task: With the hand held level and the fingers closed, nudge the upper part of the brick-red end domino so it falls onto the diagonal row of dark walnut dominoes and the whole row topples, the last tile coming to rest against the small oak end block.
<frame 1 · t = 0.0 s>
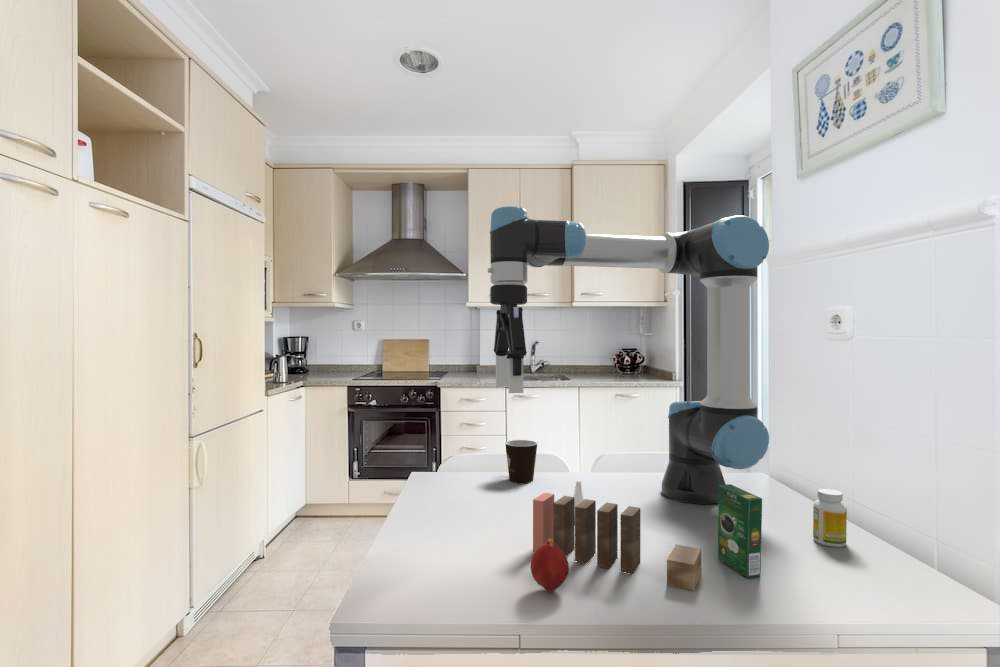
hand: (508, 389, 108), 28 cm above the table, tool pointing down, fingers open, 13 cm apart
coffee box: (739, 569, 89), on the table
supplement bottle: (829, 543, 101), on the table
domino 1: (543, 548, 97), on the table
onion: (549, 592, 81), on the table
garlic bulb: (578, 518, 114), on the table
domino 3: (585, 557, 93), on the table
coffee mug: (522, 479, 145), on the table
end block: (684, 579, 85), on the table
domino 5: (630, 567, 90), on the table
domino 2: (564, 553, 95), on the table
domino 4: (607, 562, 91), on the table
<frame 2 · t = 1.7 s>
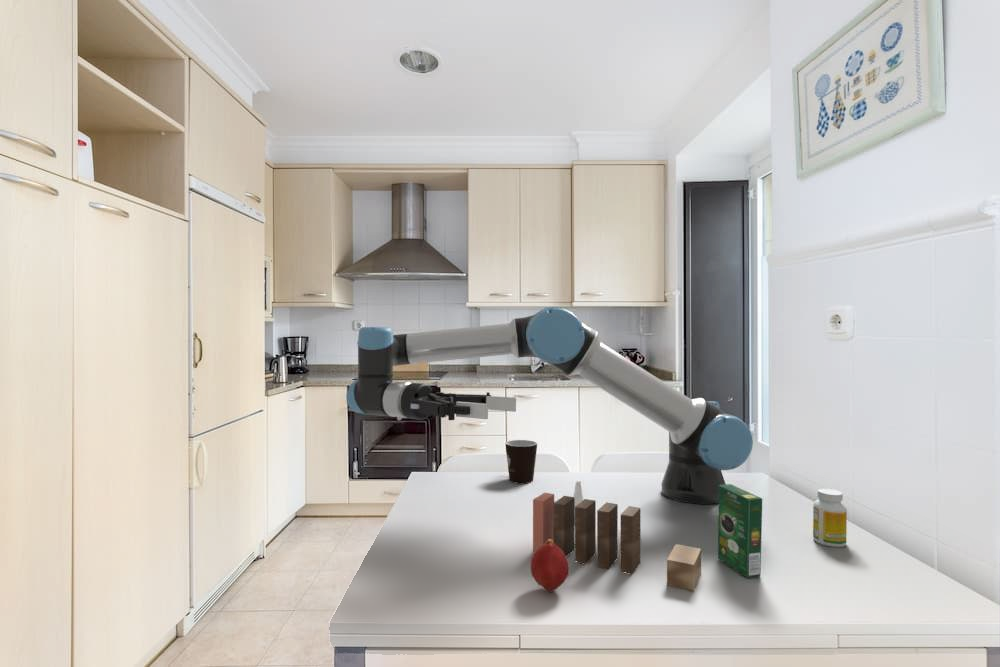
hand: (501, 408, 102), 25 cm above the table, tool horizontal, fingers open, 10 cm apart
nothing on the table moved.
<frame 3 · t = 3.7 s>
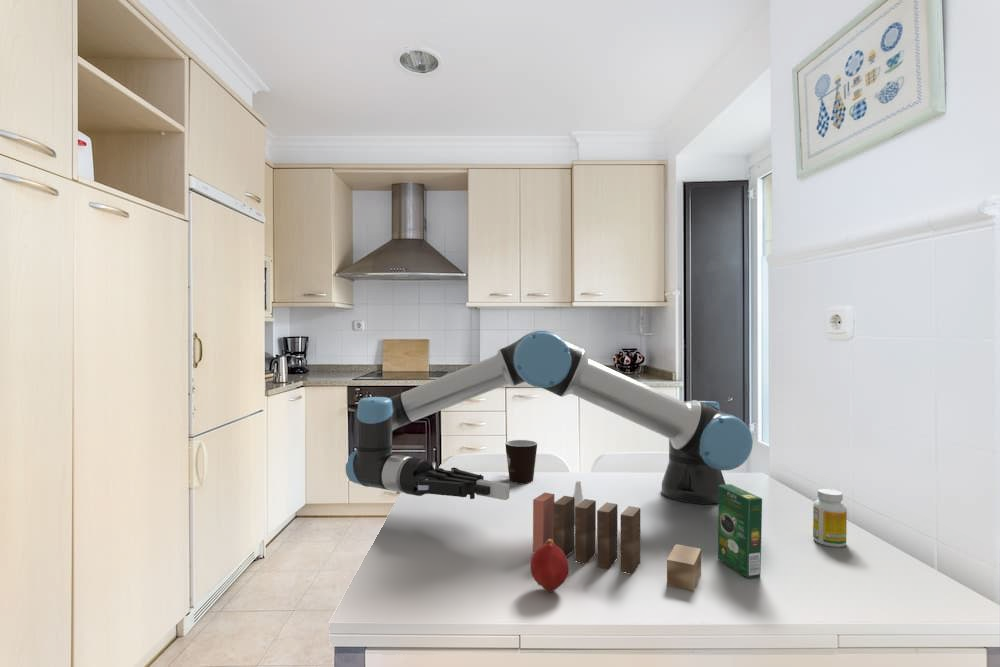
hand: (507, 491, 101), 9 cm above the table, tool horizontal, fingers closed
nothing on the table moved.
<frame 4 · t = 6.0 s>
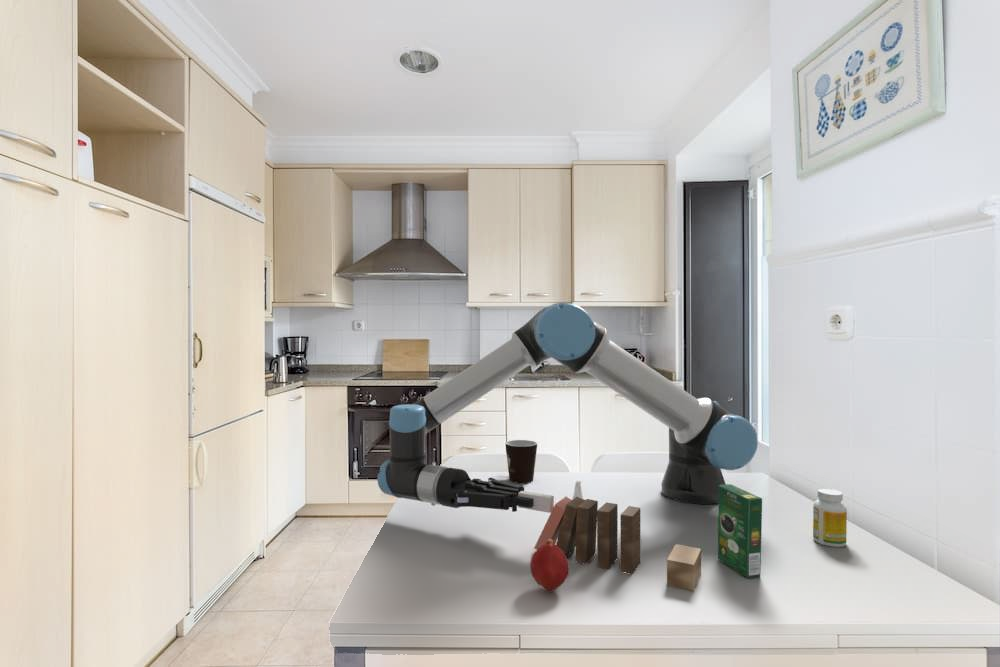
hand: (551, 504, 97), 8 cm above the table, tool horizontal, fingers closed
domino 1: (544, 546, 97), on the table, tilted 26°, touching domino 2
domino 3: (585, 557, 93), on the table, touching domino 2
domino 2: (564, 551, 95), on the table, tilted 15°, touching domino 1, domino 3
everything else where it was.
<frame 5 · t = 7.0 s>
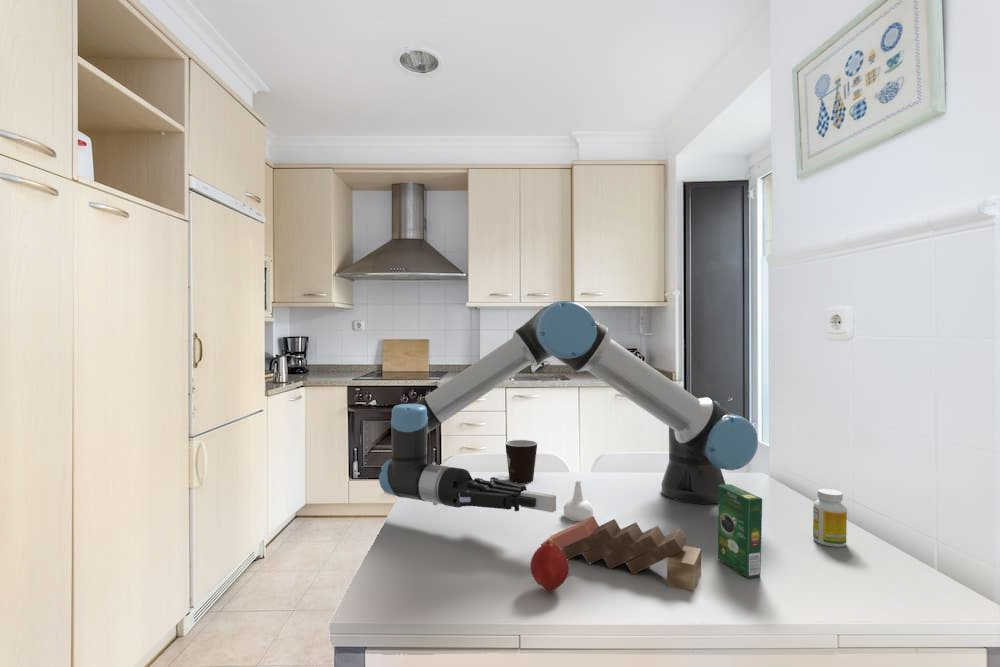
hand: (554, 503, 96), 8 cm above the table, tool horizontal, fingers closed
domino 1: (548, 545, 97), point 1 cm above the table, tilted 58°, touching domino 2
domino 3: (590, 553, 93), point 1 cm above the table, tilted 57°, touching domino 2, domino 4
domino 5: (633, 563, 89), point 1 cm above the table, tilted 55°, touching domino 4, end block
domino 2: (569, 549, 95), point 1 cm above the table, tilted 57°, touching domino 1, domino 3
domino 4: (610, 558, 91), point 1 cm above the table, tilted 56°, touching domino 3, domino 5
everything else where it was.
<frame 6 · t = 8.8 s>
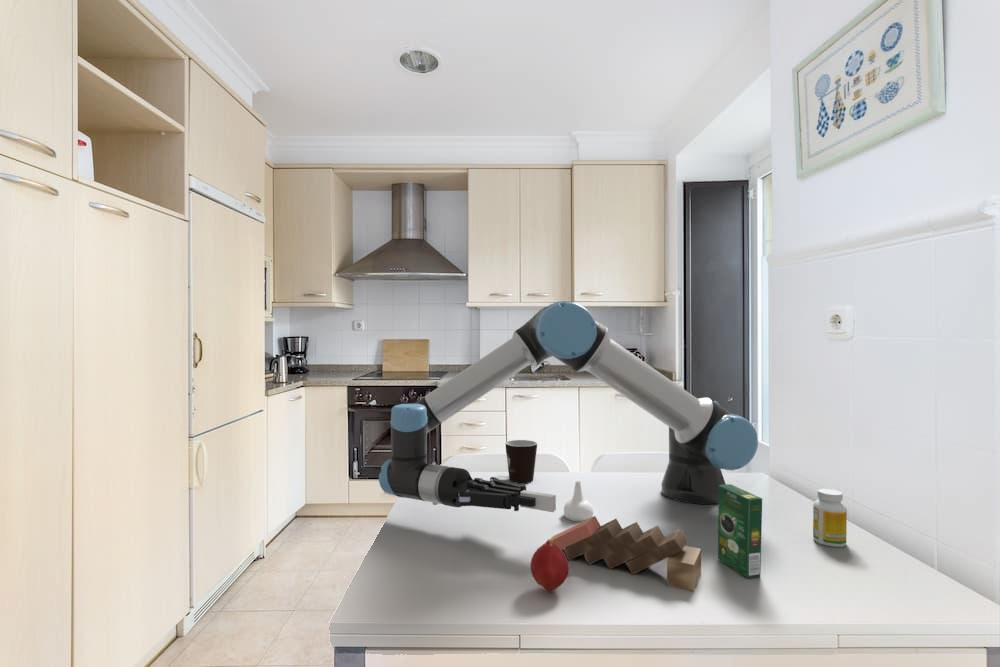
hand: (553, 503, 96), 9 cm above the table, tool horizontal, fingers closed
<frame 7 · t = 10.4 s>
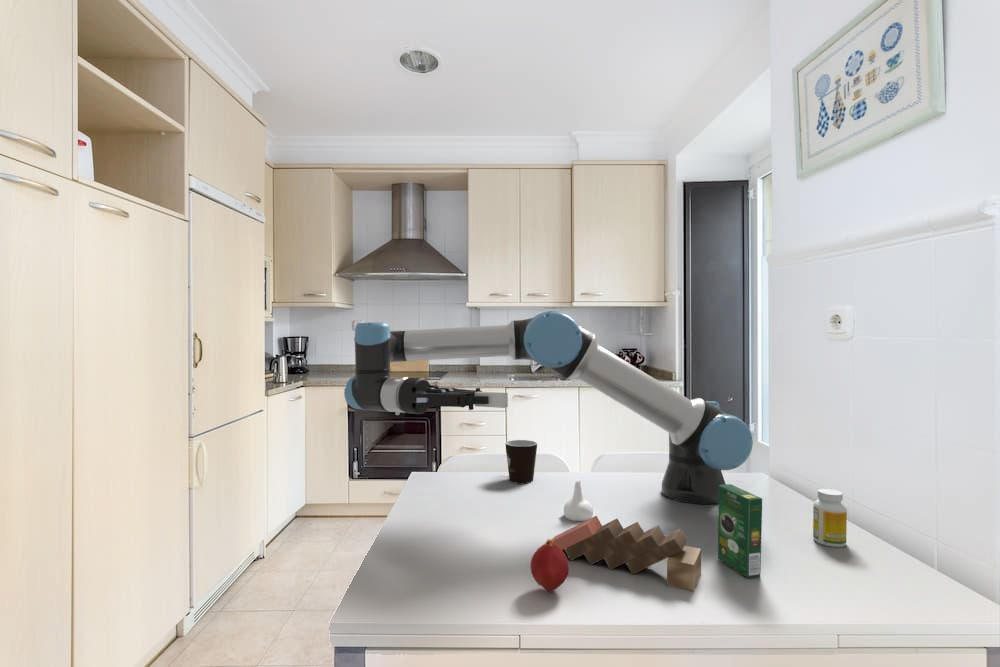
hand: (505, 400, 101), 27 cm above the table, tool horizontal, fingers closed
nothing on the table moved.
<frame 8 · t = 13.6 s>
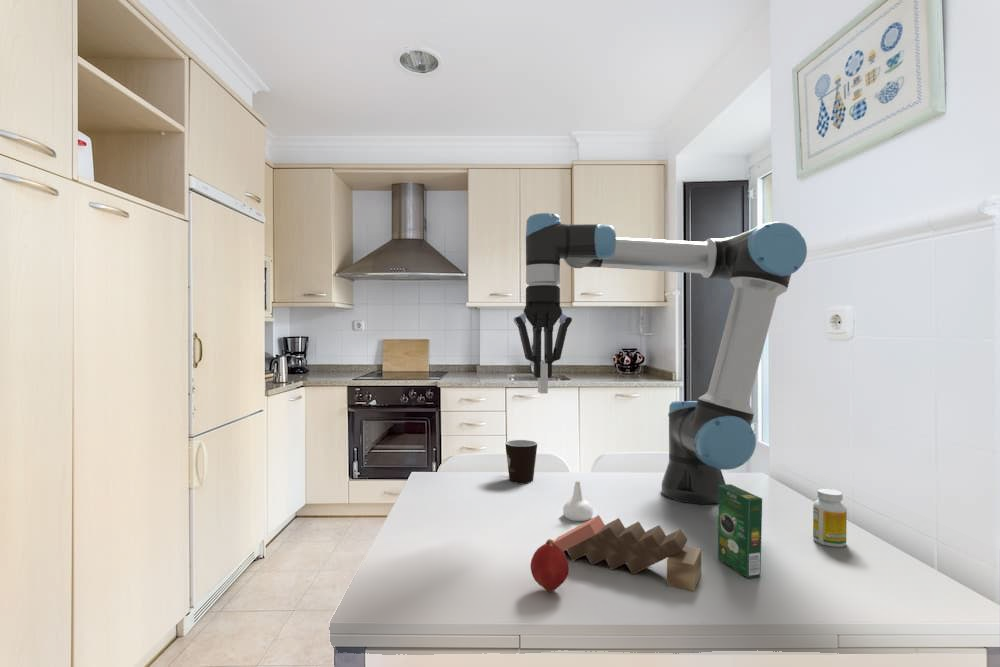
hand: (542, 392, 117), 26 cm above the table, tool pointing down, fingers closed
at the end: domino 5 tilted 55°; domino 1 tilted 56° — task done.
